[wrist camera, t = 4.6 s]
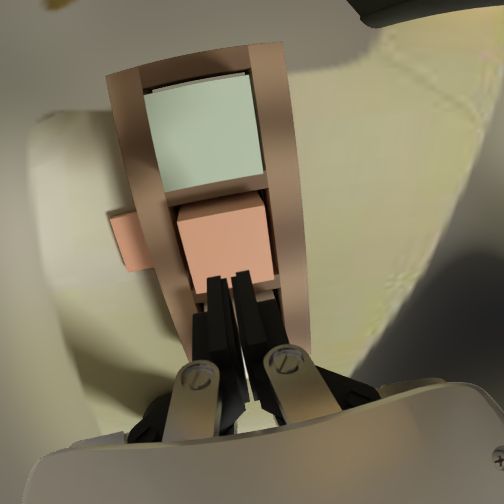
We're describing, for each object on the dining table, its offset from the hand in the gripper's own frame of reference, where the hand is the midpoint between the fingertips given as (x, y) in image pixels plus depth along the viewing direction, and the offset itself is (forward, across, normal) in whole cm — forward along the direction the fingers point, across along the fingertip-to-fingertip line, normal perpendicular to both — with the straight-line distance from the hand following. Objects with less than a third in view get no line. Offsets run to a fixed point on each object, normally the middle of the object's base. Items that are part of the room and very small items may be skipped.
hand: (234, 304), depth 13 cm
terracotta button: (+9, 0, 0) cm, 9 cm away
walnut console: (+9, 0, 0) cm, 9 cm away
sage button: (+8, 0, -6) cm, 10 cm away
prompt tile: (+9, +6, 0) cm, 11 cm away
